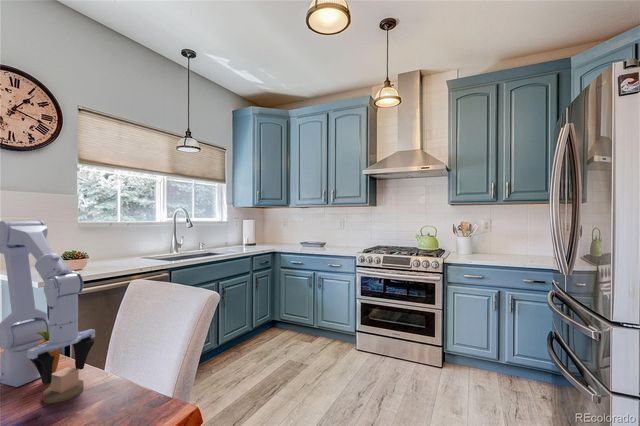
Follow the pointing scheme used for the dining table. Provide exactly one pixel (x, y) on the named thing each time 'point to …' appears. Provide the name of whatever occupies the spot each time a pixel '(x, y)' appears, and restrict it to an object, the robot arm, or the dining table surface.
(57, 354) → the carrot
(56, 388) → the tan block
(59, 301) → the robot arm
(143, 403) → the dining table surface
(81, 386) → the olive round dish
